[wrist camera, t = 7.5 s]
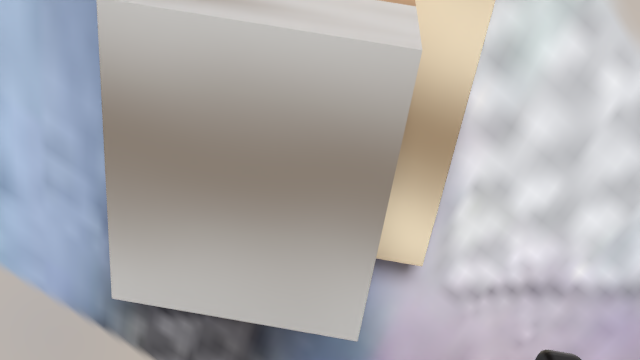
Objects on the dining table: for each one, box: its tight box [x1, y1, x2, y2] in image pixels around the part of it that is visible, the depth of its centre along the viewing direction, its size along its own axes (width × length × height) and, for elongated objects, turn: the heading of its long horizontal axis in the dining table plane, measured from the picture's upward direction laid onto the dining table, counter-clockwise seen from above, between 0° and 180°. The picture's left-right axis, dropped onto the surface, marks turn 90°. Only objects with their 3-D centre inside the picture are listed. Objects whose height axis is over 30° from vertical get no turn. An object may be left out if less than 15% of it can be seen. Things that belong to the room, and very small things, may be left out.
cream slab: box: [376, 0, 495, 266], centre depth 16 cm, size 10×9×2 cm
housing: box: [97, 0, 422, 341], centre depth 13 cm, size 6×5×6 cm
